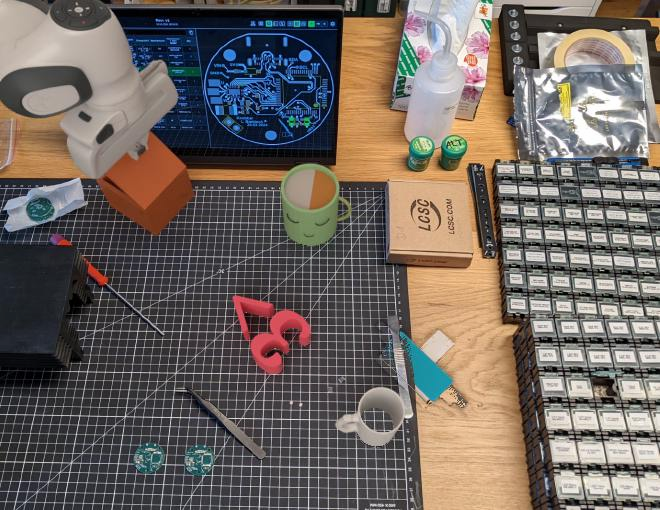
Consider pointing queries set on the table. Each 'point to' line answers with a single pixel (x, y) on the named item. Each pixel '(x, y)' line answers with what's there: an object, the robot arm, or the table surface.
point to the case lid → (146, 172)
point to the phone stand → (429, 367)
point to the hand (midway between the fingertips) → (139, 153)
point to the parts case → (158, 210)
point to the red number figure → (277, 326)
